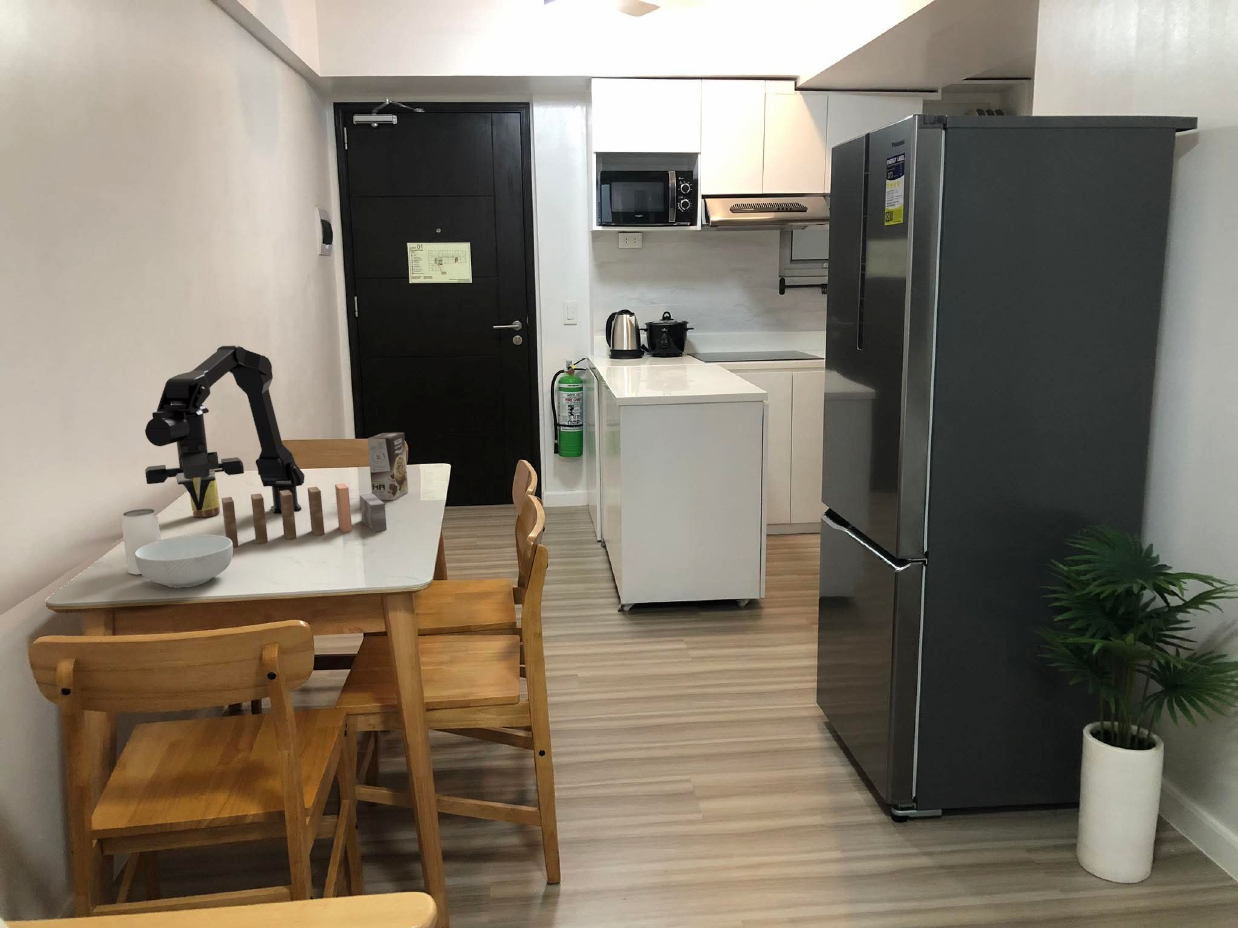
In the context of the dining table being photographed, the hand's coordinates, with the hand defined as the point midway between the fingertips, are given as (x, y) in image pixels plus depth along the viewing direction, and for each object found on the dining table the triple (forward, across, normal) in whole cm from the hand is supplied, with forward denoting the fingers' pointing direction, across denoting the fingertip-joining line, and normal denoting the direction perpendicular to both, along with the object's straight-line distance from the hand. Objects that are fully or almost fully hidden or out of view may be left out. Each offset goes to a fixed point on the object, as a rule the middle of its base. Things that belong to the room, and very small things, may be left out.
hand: (199, 510), depth 204 cm
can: (+9, -11, -11) cm, 18 cm away
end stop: (+8, +36, 0) cm, 37 cm away
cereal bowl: (+9, -4, -23) cm, 25 cm away
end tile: (+8, +30, 0) cm, 31 cm away
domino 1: (+8, +6, 0) cm, 10 cm away
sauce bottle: (+9, +3, +32) cm, 33 cm away
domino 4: (+8, +24, 0) cm, 25 cm away
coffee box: (+9, +47, +27) cm, 55 cm away
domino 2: (+8, +12, 0) cm, 14 cm away
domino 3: (+8, +18, 0) cm, 20 cm away
